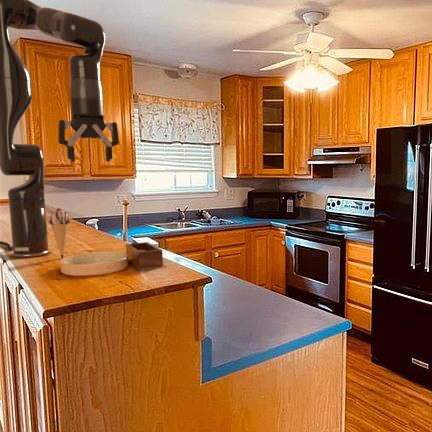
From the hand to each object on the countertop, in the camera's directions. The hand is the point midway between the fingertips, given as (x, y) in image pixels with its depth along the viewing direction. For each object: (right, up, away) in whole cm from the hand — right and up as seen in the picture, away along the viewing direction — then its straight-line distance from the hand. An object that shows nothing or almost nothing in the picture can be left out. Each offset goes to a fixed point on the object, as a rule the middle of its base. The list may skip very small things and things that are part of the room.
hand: (90, 161), depth 112 cm
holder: (+13, -28, +5) cm, 31 cm away
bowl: (+1, -28, 0) cm, 28 cm away
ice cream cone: (-13, -27, +10) cm, 32 cm away
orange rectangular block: (+11, -27, +7) cm, 29 cm away
